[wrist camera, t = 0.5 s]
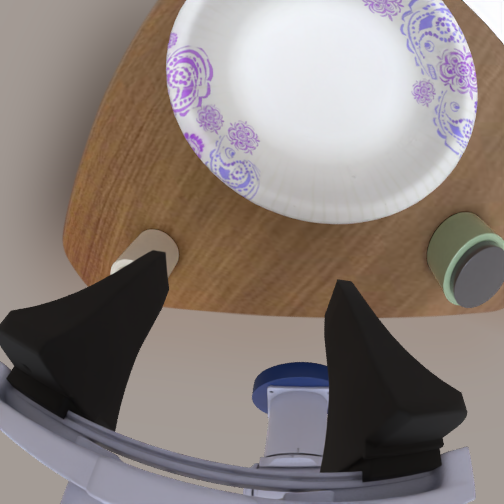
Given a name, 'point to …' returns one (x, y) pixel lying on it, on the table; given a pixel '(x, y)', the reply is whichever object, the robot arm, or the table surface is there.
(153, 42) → the table surface
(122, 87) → the table surface
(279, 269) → the table surface
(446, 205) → the table surface
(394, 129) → the paper bowls
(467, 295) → the green jar
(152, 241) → the small bottle
